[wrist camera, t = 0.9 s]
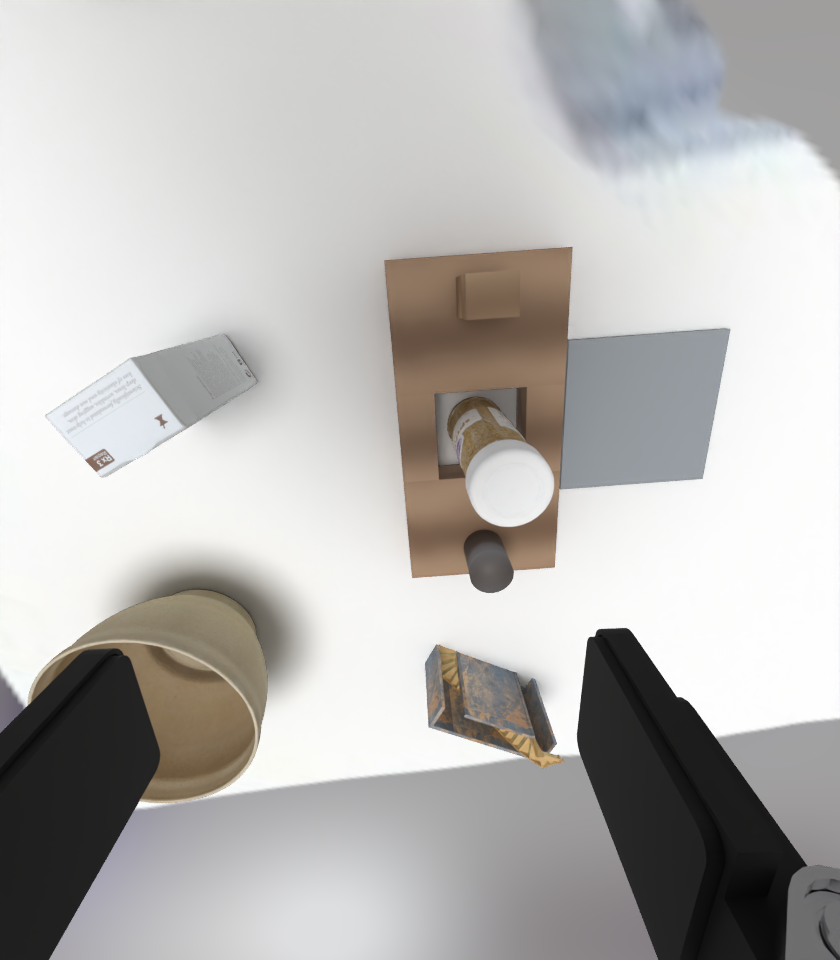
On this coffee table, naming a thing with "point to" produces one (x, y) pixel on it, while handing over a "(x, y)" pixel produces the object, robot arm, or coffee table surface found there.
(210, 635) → the planter bowl
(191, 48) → the coffee table surface
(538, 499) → the sprinkles bottle
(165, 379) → the skincare box
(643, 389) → the pad
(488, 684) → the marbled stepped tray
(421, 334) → the wooden peg board
